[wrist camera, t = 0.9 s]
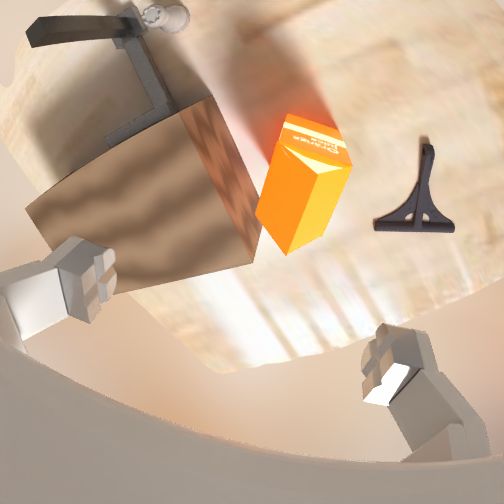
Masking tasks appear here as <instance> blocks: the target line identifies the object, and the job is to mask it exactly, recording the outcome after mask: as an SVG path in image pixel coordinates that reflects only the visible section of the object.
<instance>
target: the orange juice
mask: <svg viewBox="0 0 504 504" xmlns="http://www.w3.org/2000/svg"><path fill="white" fill-rule="evenodd" d="M352 167H353V166H352V163H351V160H350V158H349V155H348V152H347V150H346V146H345V143H344V142H343V140H342V137H341V135H340V132H339V131H338V130H336V129H333V128H330V127H327V126H324V125H322V124H319V123H316V122H313V121H310V120H307V119H304V118H301V117H297V116H294V115H291V114H288V113H287V117H286V120H285V122H284V125H283V128H282V132H281V135H280V138H279V141H277V144H276V147H275V150H274V153H273V157H272V160H271V163H270V166H269V170H268V173H267V176H266V179H265V183H264V186H263V189H262V193H261V196H260V199H259V203H258V206H257V209H256V212H255V215H256V217H257V218H258V219H259V221H260V222H261V223H262V225H263V226H264V227H265V229H266V230H267V231H268V233H269V234H270V235H271V237H272V238H273V239H274V241H275V242H276V243H277V245H278V246H279V247H280V249H281V250H282V252H283V253H284V254H285V256H287V254H288V253H290V252H292V251H294V250H296V249H298V248H300V247H301V246H303V245H305V244H307V243H309V242H311V241H313V240H314V239H316V238H318V237H320V236H321V237H322V235H323V233H324V231H325V229H326V227H327V225H328V222H329V220H330V218H331V216H332V213H333V211H334V209H335V207H336V204H337V202H338V200H339V197H340V195H341V193H342V191H343V188H344V186H345V184H346V181H347V179H348V177H349V174H350V172H351V169H352Z"/></svg>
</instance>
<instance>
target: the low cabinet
mask: <svg viewBox="0 0 504 504" xmlns="http://www.w3.org/2000/svg"><path fill="white" fill-rule="evenodd" d="M259 199H260V198H259V196H258V194H257V191H256V189H255V187H254V185H253V182H252V180H251V178H250V176H249V173H248V171H247V169H246V167H245V164H244V162H243V160H242V158H241V156H240V153H239V151H238V149H237V147H236V144H235V142H234V140H233V138H232V136H231V134H230V131H229V129H228V127H227V125H226V123H225V120H224V118H223V116H222V114H221V112H220V110H219V108H218V105H217V103H216V101H215V99H214V97H213V95H212V96H209V97H207V98H205V99H203V100H201V101H199V102H197V103H195V104H193V105H191V106H189V107H187V108H185V109H183V110H181V111H179V112H178V113H176V114H174V115H172V116H170V117H168V118H166V119H164V120H162V121H160V122H158V123H156V124H154V125H152V126H151V127H149V128H147V129H145V130H143V131H141V132H139V133H138V134H136V135H134V136H132V137H130V138H129V139H127V140H125V141H123V142H122V143H120V144H118V145H117V146H115V147H113V148H112V149H110V150H108V151H107V152H105V153H103V154H102V155H100V156H98V157H97V158H95V159H94V160H92V161H91V162H89V163H87V164H86V165H84V166H83V167H81V168H80V169H78V170H77V171H75V172H72V173H71V174H69V175H68V176H66V177H65V178H63V179H62V180H61V181H59V182H58V183H57V184H55V185H54V186H53V187H51V188H50V189H49V190H47V191H46V192H45V193H44V194H42V195H41V196H40V197H38V198H37V199H36V200H35V201H34V202H32V203H31V204H30V205H28V206H27V207H26V208H25V210H26V211H27V213H28V214H29V216H30V218H31V219H32V221H33V223H34V224H35V226H36V227H37V229H38V230H39V232H40V233H41V235H42V236H43V238H44V239H45V241H46V242H47V244H48V245H49V247H50V248H51V250H52V251H54V250H55V249H57V248H58V247H59V246H60V245H61V244H62V243H64V242H65V241H66V240H67V239H68V238H69V237H71V236H77V237H79V238H82V239H85V240H89V241H91V242H94V243H97V244H100V245H103V246H106V247H109V248H112V249H113V250H114V251H115V260H116V261H115V262H114V263H113V264H112V266H113V268H114V269H115V271H116V274H117V281H116V287H115V289H114V292H113V295H115V294H119V293H124V292H128V291H133V290H137V289H142V288H146V287H151V286H155V285H160V284H164V283H168V282H173V281H177V280H182V279H186V278H190V277H195V276H199V275H204V274H208V273H212V272H217V271H221V270H225V269H230V268H234V267H238V266H243V265H247V264H251V263H253V260H254V257H255V253H256V249H257V245H258V241H259V237H260V233H261V229H262V223H261V222H260V221H259V219H258V218H257V217H256V215H255V212H256V209H257V206H258V203H259Z"/></svg>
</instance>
